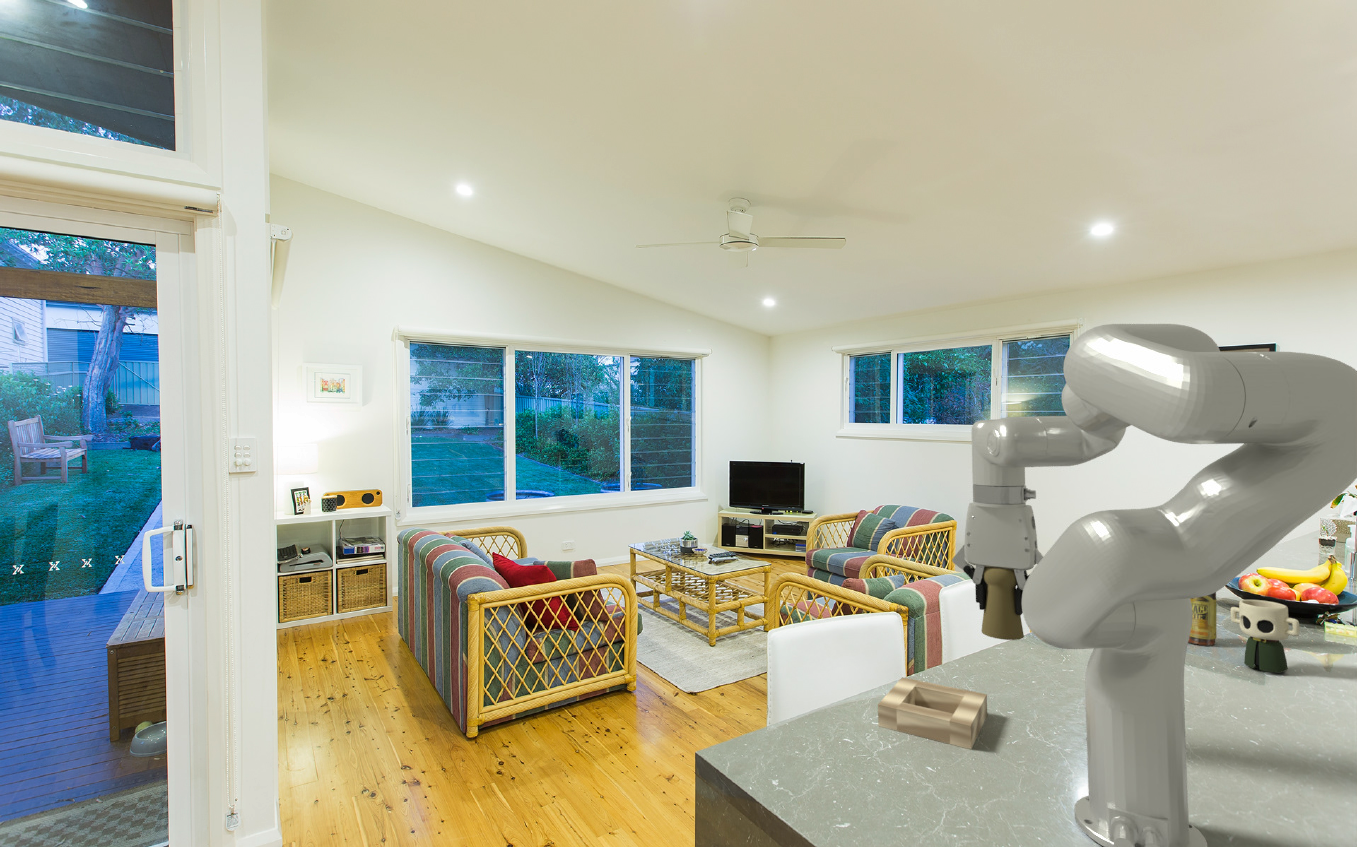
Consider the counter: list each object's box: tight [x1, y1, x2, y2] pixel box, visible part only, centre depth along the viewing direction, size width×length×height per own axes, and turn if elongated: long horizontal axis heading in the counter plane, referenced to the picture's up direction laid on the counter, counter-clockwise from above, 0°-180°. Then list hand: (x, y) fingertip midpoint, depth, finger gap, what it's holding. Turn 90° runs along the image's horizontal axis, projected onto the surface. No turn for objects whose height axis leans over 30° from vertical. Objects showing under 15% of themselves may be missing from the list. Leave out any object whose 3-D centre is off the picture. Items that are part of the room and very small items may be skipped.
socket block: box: [877, 677, 988, 750], centre depth 104 cm, size 14×14×4 cm
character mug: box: [1230, 599, 1301, 673], centre depth 124 cm, size 11×7×13 cm, turn 22°
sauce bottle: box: [1188, 592, 1218, 647], centre depth 140 cm, size 6×6×20 cm
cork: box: [981, 567, 1025, 641], centre depth 100 cm, size 6×6×11 cm
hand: (1001, 609), depth 100 cm, fingers closed on cork, 4 cm apart
